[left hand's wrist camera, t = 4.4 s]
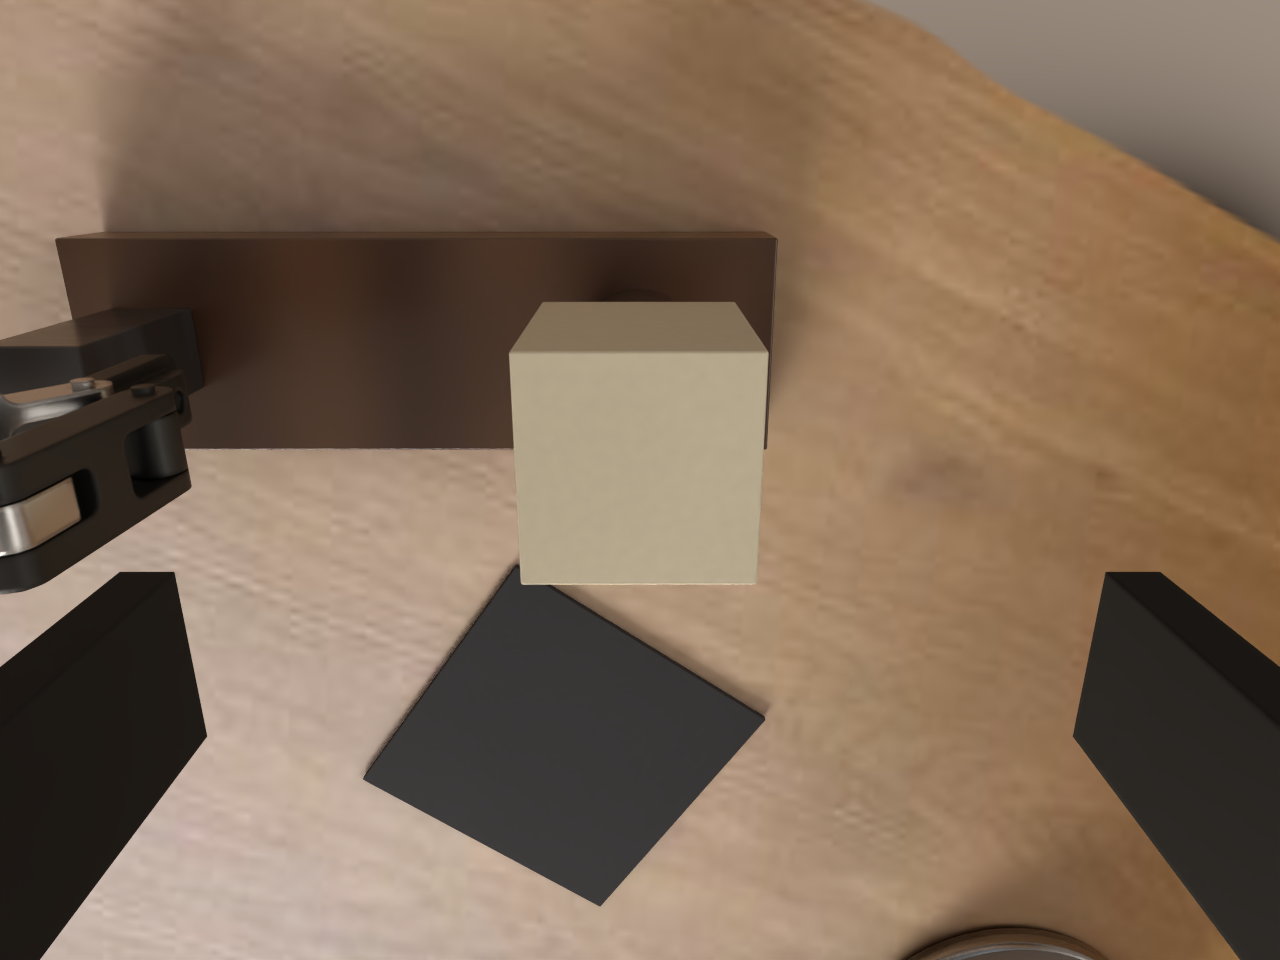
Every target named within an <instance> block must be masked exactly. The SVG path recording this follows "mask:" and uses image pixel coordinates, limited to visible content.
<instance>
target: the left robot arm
mask: <svg viewBox="0 0 1280 960" xmlns="http://www.w3.org/2000/svg"><path fill="white" fill-rule="evenodd" d="M206 737H207V733H206V728H205V723H204V718H203V713H202V708H201V703H200V698H199V693H198V688H197V683H196V678H195V673H194V668H193V663H192V658H191V653H190V648H189V643H188V638H187V633H186V628H185V623H184V618H183V613H182V608H181V603H180V598H179V593H178V588H177V583H176V578H175V573H174V572H119V573H118V574H117V575H115V576H114V577H113V578H112V579H110V580H109V581H108V582H107V583H105V584H104V585H103V586H102V587H100V588H99V589H98V590H97V591H95V592H94V593H93V594H92V595H90V596H89V597H88V598H87V599H85V600H84V601H83V602H82V603H80V604H79V605H78V606H76V607H75V608H74V609H73V610H71V611H70V612H69V613H68V614H66V615H65V616H64V617H63V618H61V619H60V620H59V621H58V622H56V623H55V624H54V625H53V626H51V627H50V628H49V629H48V630H46V631H45V632H44V633H43V634H41V635H40V636H39V637H37V638H36V639H35V640H34V641H32V642H31V643H30V644H29V645H27V646H26V647H25V648H24V649H22V650H21V651H20V652H19V653H17V654H16V655H15V656H14V657H12V658H11V659H10V660H9V661H7V662H6V663H5V664H4V665H2V666H1V667H0V960H40V959H41V957H42V956H43V955H44V953H45V952H46V951H47V949H48V948H49V947H50V945H51V944H52V943H53V941H54V940H55V939H56V937H57V936H58V935H59V933H60V932H61V931H62V929H63V928H64V927H65V925H66V924H67V923H68V921H69V920H70V919H71V917H72V916H73V915H74V913H75V912H76V911H77V909H78V908H79V907H80V905H81V904H82V903H83V901H84V900H85V899H86V897H87V896H88V895H89V893H90V892H91V891H92V889H93V888H94V887H95V885H96V884H97V883H98V881H99V880H100V879H101V877H102V876H103V875H104V873H105V872H106V871H107V869H108V868H109V867H110V865H111V864H112V863H113V861H114V860H115V859H116V857H117V856H118V855H119V853H120V852H121V851H122V849H123V848H124V847H125V845H126V844H127V843H128V841H129V840H130V839H131V837H132V836H133V835H134V833H135V832H136V831H137V829H138V828H139V827H140V825H141V824H142V823H143V821H144V820H145V819H146V817H147V816H148V815H149V813H150V812H151V811H152V809H153V808H154V807H155V805H156V804H157V803H158V801H159V800H160V799H161V797H162V796H163V795H164V793H165V792H166V791H167V789H168V788H169V787H170V785H171V784H172V783H173V781H174V780H175V779H176V777H177V776H178V775H179V773H180V772H181V771H182V769H183V768H184V767H185V765H186V764H187V763H188V761H189V760H190V759H191V757H192V756H193V755H194V753H195V752H196V751H197V749H198V748H199V747H200V745H201V744H202V743H203V741H204V740H205V739H206ZM1073 737H1074V739H1075V740H1076V741H1077V743H1078V744H1079V745H1080V747H1081V748H1082V749H1083V751H1084V752H1085V753H1086V755H1087V756H1088V757H1089V759H1090V760H1091V761H1092V763H1093V764H1094V765H1095V767H1096V768H1097V769H1098V771H1099V772H1100V773H1101V775H1102V776H1103V777H1104V779H1105V780H1106V781H1107V783H1108V784H1109V785H1110V787H1111V788H1112V789H1113V791H1114V792H1115V793H1116V795H1117V796H1118V797H1119V799H1120V800H1121V801H1122V803H1123V804H1124V805H1125V807H1126V808H1127V809H1128V811H1129V812H1130V813H1131V815H1132V816H1133V817H1134V819H1135V820H1136V821H1137V823H1138V824H1139V825H1140V827H1141V828H1142V829H1143V831H1144V832H1145V833H1146V835H1147V836H1148V837H1149V839H1150V840H1151V841H1152V843H1153V844H1154V845H1155V847H1156V848H1157V849H1158V851H1159V852H1160V853H1161V855H1162V856H1163V857H1164V859H1165V860H1166V861H1167V863H1168V864H1169V865H1170V867H1171V868H1172V869H1173V871H1174V872H1175V873H1176V875H1177V876H1178V877H1179V879H1180V880H1181V881H1182V883H1183V884H1184V885H1185V887H1186V888H1187V889H1188V891H1189V892H1190V893H1191V895H1192V896H1193V897H1194V899H1195V900H1196V901H1197V903H1198V904H1199V905H1200V907H1201V908H1202V909H1203V911H1204V912H1205V913H1206V915H1207V916H1208V917H1209V919H1210V920H1211V921H1212V923H1213V924H1214V925H1215V927H1216V928H1217V929H1218V931H1219V932H1220V933H1221V935H1222V936H1223V937H1224V939H1225V940H1226V941H1227V943H1228V944H1229V945H1230V947H1231V948H1232V949H1233V951H1234V952H1235V953H1236V955H1237V956H1238V957H1239V959H1240V960H1280V667H1279V666H1278V665H1276V664H1275V663H1274V662H1273V661H1271V660H1270V659H1269V658H1268V657H1266V656H1265V655H1264V654H1263V653H1261V652H1260V651H1259V650H1258V649H1256V648H1255V647H1254V646H1253V645H1251V644H1250V643H1249V642H1248V641H1246V640H1245V639H1244V638H1243V637H1241V636H1240V635H1239V634H1237V633H1236V632H1235V631H1234V630H1232V629H1231V628H1230V627H1229V626H1227V625H1226V624H1225V623H1224V622H1222V621H1221V620H1220V619H1219V618H1217V617H1216V616H1215V615H1214V614H1212V613H1211V612H1210V611H1209V610H1207V609H1206V608H1205V607H1204V606H1202V605H1201V604H1200V603H1198V602H1197V601H1196V600H1195V599H1193V598H1192V597H1191V596H1190V595H1188V594H1187V593H1186V592H1185V591H1183V590H1182V589H1181V588H1180V587H1178V586H1177V585H1176V584H1175V583H1173V582H1172V581H1171V580H1170V579H1168V578H1167V577H1166V576H1165V575H1163V574H1162V573H1161V572H1106V573H1105V578H1104V583H1103V588H1102V593H1101V598H1100V603H1099V608H1098V613H1097V618H1096V623H1095V628H1094V633H1093V638H1092V643H1091V648H1090V653H1089V658H1088V663H1087V668H1086V673H1085V678H1084V683H1083V688H1082V693H1081V698H1080V703H1079V708H1078V713H1077V718H1076V723H1075V728H1074V733H1073ZM908 960H1108V959H1107V958H1106V957H1104V956H1103V955H1102V954H1101V953H1099V952H1098V951H1096V950H1095V949H1093V948H1092V947H1090V946H1088V945H1086V944H1084V943H1082V942H1080V941H1078V940H1075V939H1073V938H1071V937H1068V936H1064V935H1061V934H1058V933H1053V932H1049V931H1044V930H1037V929H1027V928H1000V929H990V930H983V931H977V932H972V933H968V934H964V935H960V936H957V937H954V938H951V939H947V940H945V941H942V942H940V943H937V944H935V945H933V946H931V947H929V948H927V949H925V950H923V951H921V952H919V953H917V954H916V955H914V956H912V957H911V958H909V959H908Z"/></svg>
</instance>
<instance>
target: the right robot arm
mask: <svg viewBox="0 0 1280 960" xmlns="http://www.w3.org/2000/svg"><path fill="white" fill-rule="evenodd" d="M59 416H60V417H59ZM54 417H57V418H55V419H52V420H50V421H47V422H45V423H42V424H40V425H38V426H35V427H33V428H30V429H28V430H25V431H23V432H20V433H18V434H16V435H15V433H16V431H17V429H18V428H19V427H20V426H22V425H23V424H26V423H30V422H35V421H40V420H44V419H49V418H54ZM191 421H192V413H191V408H190V403H189V397H188V392H187V387H186V382H185V376H184V371H183V370H177V367H176V364H175V361H174V360H173V358H172V357H171V356H170V355H139V356H137V357H134V358H132V359H129V360H127V361H124V362H122V363H119V364H117V365H114V366H112V367H109V368H107V369H104V370H102V371H99V372H97V373H94V374H92V375H89V376H87V377H84V378H77V379H73V380H70V383H67V384H61V385H56V386H50V387H45V388H39V389H34V390H28V391H23V392H17V393H12V394H6V395H2V394H1V393H0V594H9V593H16V592H22V591H26V590H29V589H32V588H35V587H37V586H40V585H42V584H44V583H46V582H48V581H50V580H51V579H53V578H54V577H56V576H57V575H59V574H60V573H62V572H63V571H65V570H67V569H68V568H70V567H71V566H73V565H74V564H76V563H77V562H79V561H80V560H82V559H83V558H85V557H86V556H88V555H90V554H91V553H93V552H94V551H96V550H97V549H99V548H100V547H102V546H103V545H105V544H106V543H108V542H109V541H111V540H113V539H114V538H116V537H117V536H119V535H120V534H122V533H123V532H125V531H126V530H128V529H129V528H131V527H133V526H134V525H136V524H137V523H139V522H140V521H142V520H143V519H145V518H146V517H148V516H149V515H151V514H152V513H154V512H156V511H157V510H159V509H160V508H162V507H163V506H165V505H166V504H168V503H169V502H171V501H172V500H174V499H175V498H177V497H179V496H180V495H182V494H183V493H185V492H186V491H188V490H189V489H190V488H191V486H192V485H191V480H190V475H189V470H188V465H187V460H186V455H185V450H184V445H183V440H182V434H181V428H183V427H185V426H186V425H188V424H190V423H191Z"/></svg>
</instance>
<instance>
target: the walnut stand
mask: <svg viewBox="0 0 1280 960" xmlns="http://www.w3.org/2000/svg"><path fill="white" fill-rule="evenodd" d="M55 241H56V246H57V250H58V255H59V260H60V264H61V269H62V273H63V278H64V282H65V287H66V291H67V296H68V300H69V305H70V310H71V314H72V319H73V320H70V321H66V322H63V323H59V324H56V325H52V326H48V327H45V328H41V329H38V330H34V331H31V332H27V333H24V334H20V335H17V336H13V337H10V338H6V339H3V340H0V393H1V394H2V395H6V394H12V393H17V392H23V391H28V390H34V389H39V388H45V387H50V386H56V385H61V384H67V383H70V380H73V379H77V378H84V377H87V376H89V375H92V374H94V373H97V372H99V371H102V370H104V369H107V368H109V367H112V366H114V365H117V364H119V363H122V362H124V361H127V360H129V359H132V358H134V357H137V356H139V355H170V356H171V357H172V358H173V360H174V361H175V364H176V367H177V370H183V371H184V376H185V382H186V387H187V392H188V397H189V403H190V408H191V413H192V421H191V423H190V424H188V425H186V426H185V427H183V428H181V434H182V440H183V445H184V450H514V441H513V422H512V402H511V383H510V363H509V352H510V350H511V349H512V347H513V346H514V344H515V343H516V341H517V340H518V338H519V337H520V335H521V334H522V332H523V331H524V329H525V328H526V326H527V325H528V323H529V322H530V320H531V319H532V317H533V316H534V314H535V313H536V312H537V310H538V309H539V307H540V306H541V304H542V303H543V302H735V303H736V305H737V306H738V308H739V309H740V311H741V312H742V314H743V315H744V317H745V318H746V320H747V321H748V323H749V324H750V326H751V327H752V329H753V330H754V331H755V333H756V334H757V336H758V337H759V339H760V340H761V342H762V343H763V345H764V346H765V348H766V349H767V351H768V353H769V355H768V375H767V395H766V415H765V434H764V450H765V449H767V436H768V416H769V397H770V377H771V358H772V339H773V319H774V300H775V281H776V261H777V242H778V240H777V238H775V237H773V236H771V235H770V234H768V233H766V232H99V233H92V234H84V235H77V236H70V237H62V238H57V239H55ZM59 417H60V416H59ZM55 418H57V417H54V418H49V419H44V420H40V421H35V422H30V423H26V424H23V425H22V426H20V427H19V428H18V429H17V431H16V433H15V435H16V434H18V433H20V432H23V431H25V430H28V429H30V428H33V427H35V426H38V425H40V424H42V423H45V422H47V421H50V420H52V419H55Z"/></svg>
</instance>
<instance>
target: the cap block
mask: <svg viewBox="0 0 1280 960" xmlns="http://www.w3.org/2000/svg"><path fill="white" fill-rule="evenodd" d="M768 355H769V353H768V351H767V349H766V348H765V346H764V345H763V343H762V342H761V340H760V339H759V337H758V336H757V334H756V333H755V331H754V330H753V329H752V327H751V326H750V324H749V323H748V321H747V320H746V318H745V317H744V315H743V314H742V312H741V311H740V309H739V308H738V306H737V305H736V303H735V302H543V303H542V304H541V306H540V307H539V309H538V310H537V312H536V313H535V314H534V316H533V317H532V319H531V320H530V322H529V323H528V325H527V326H526V328H525V329H524V331H523V332H522V334H521V335H520V337H519V338H518V340H517V341H516V343H515V344H514V346H513V347H512V349H511V350H510V352H509V363H510V383H511V402H512V422H513V441H514V461H515V480H516V500H517V519H518V539H519V558H520V577H521V584H523V585H629V584H756V583H757V573H758V553H759V534H760V514H761V494H762V474H763V454H764V434H765V415H766V395H767V375H768Z"/></svg>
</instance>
